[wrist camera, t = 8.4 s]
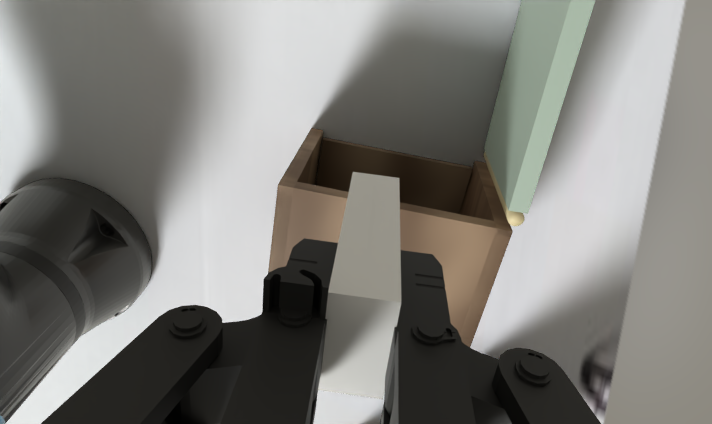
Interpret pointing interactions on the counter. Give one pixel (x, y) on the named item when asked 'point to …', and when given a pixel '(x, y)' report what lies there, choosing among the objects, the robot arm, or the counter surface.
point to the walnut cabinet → (401, 214)
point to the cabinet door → (532, 97)
